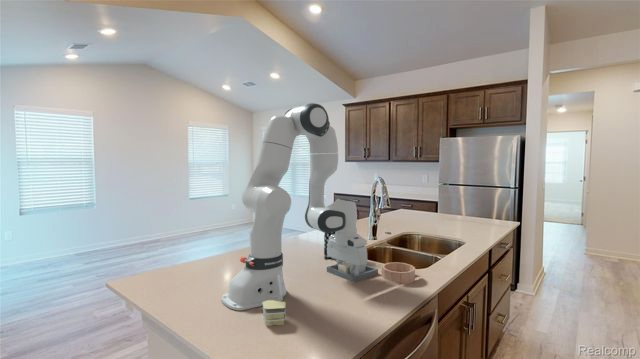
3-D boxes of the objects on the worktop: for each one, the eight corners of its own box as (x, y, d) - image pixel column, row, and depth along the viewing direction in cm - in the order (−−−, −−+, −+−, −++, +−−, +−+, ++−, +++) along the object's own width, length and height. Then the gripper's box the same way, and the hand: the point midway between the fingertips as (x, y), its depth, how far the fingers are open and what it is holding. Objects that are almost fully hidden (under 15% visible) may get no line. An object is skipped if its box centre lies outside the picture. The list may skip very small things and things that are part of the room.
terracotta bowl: (401, 286, 123) (401, 275, 123) (375, 277, 133) (375, 266, 133) (421, 279, 131) (421, 267, 131) (395, 270, 141) (395, 260, 141)
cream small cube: (345, 277, 131) (345, 267, 131) (338, 274, 135) (338, 264, 135) (353, 274, 134) (353, 265, 134) (346, 272, 138) (346, 262, 137)
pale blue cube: (358, 273, 136) (358, 263, 136) (350, 270, 139) (350, 261, 139) (365, 271, 139) (365, 261, 138) (357, 268, 142) (357, 259, 142)
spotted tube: (335, 262, 154) (334, 219, 152) (320, 259, 159) (320, 217, 157) (344, 257, 160) (344, 216, 159) (330, 255, 165) (330, 215, 164)
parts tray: (353, 284, 126) (353, 277, 126) (326, 273, 138) (326, 266, 138) (378, 275, 135) (378, 269, 135) (350, 266, 147) (350, 260, 147)
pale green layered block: (292, 315, 102) (291, 298, 101) (289, 330, 93) (289, 311, 93) (259, 315, 102) (259, 298, 101) (253, 330, 93) (253, 311, 93)
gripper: (323, 235, 140) (323, 267, 140) (358, 244, 124) (358, 280, 125) (334, 232, 144) (334, 264, 144) (370, 241, 128) (369, 276, 129)
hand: (345, 271), depth 134 cm, fingers open, 5 cm apart
